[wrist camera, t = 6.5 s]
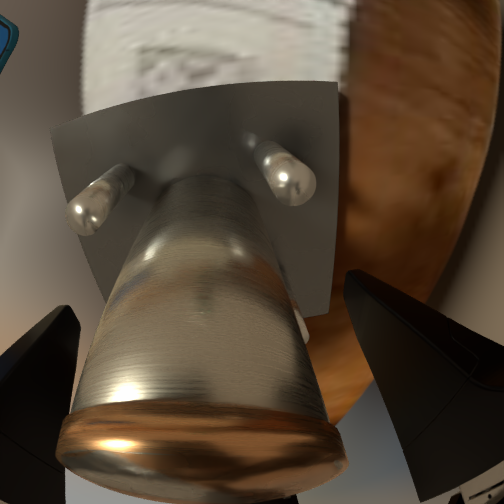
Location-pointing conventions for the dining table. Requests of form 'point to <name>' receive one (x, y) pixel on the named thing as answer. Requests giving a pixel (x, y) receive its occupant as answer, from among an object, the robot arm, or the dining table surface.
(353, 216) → the dining table surface
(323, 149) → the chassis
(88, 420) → the canister
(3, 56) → the smartphone
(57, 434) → the robot arm
